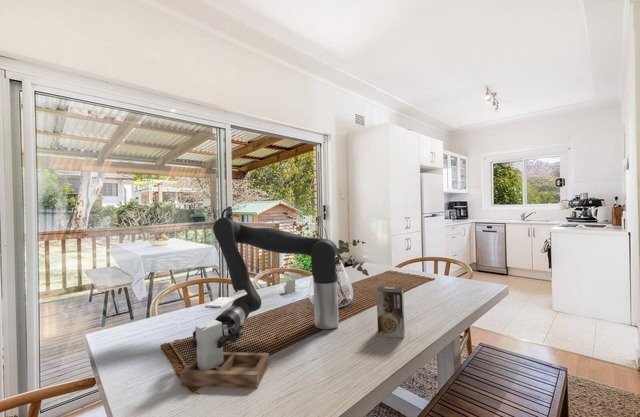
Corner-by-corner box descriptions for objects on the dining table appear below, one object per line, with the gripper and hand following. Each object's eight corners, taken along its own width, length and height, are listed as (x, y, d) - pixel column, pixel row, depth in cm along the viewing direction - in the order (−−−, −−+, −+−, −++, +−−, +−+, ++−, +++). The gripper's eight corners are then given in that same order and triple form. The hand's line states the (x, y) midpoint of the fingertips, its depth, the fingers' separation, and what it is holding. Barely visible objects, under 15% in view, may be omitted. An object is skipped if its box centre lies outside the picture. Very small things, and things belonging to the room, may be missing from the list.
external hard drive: (233, 300, 154) (221, 309, 142) (219, 300, 156) (205, 308, 144) (233, 297, 154) (221, 305, 142) (219, 297, 156) (205, 304, 144)
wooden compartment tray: (269, 364, 89) (268, 353, 89) (257, 388, 78) (256, 374, 78) (201, 363, 92) (201, 351, 92) (180, 385, 80) (180, 372, 80)
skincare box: (216, 359, 89) (214, 318, 89) (224, 363, 86) (223, 322, 86) (196, 368, 85) (194, 325, 84) (204, 373, 82) (202, 329, 81)
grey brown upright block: (405, 331, 110) (403, 287, 110) (403, 338, 104) (402, 292, 104) (379, 328, 113) (378, 285, 113) (377, 335, 107) (376, 290, 107)
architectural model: (283, 293, 163) (282, 280, 163) (293, 291, 168) (293, 277, 167) (286, 295, 160) (286, 281, 160) (297, 292, 165) (296, 279, 165)
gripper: (208, 309, 100) (180, 330, 84) (250, 309, 99) (230, 331, 82) (209, 331, 100) (181, 357, 84) (251, 332, 99) (231, 359, 82)
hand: (205, 344), depth 83 cm, fingers closed on skincare box, 6 cm apart
